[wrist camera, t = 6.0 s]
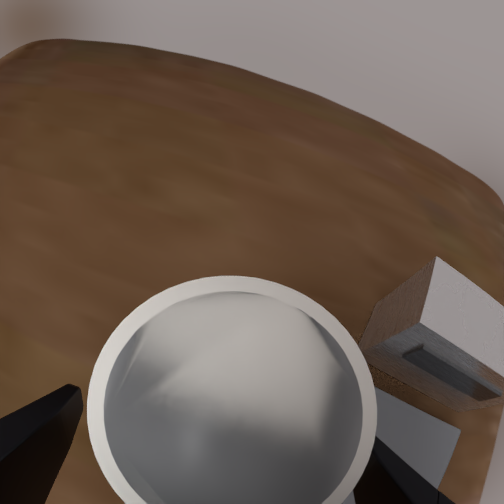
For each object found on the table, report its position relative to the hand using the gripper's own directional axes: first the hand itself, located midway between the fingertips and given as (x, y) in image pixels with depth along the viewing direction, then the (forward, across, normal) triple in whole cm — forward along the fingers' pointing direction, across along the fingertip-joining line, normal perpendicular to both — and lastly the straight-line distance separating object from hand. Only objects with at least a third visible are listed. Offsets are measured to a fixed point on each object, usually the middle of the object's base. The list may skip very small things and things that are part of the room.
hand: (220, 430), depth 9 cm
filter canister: (+6, 0, +6) cm, 8 cm away
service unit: (+9, -13, +2) cm, 16 cm away
